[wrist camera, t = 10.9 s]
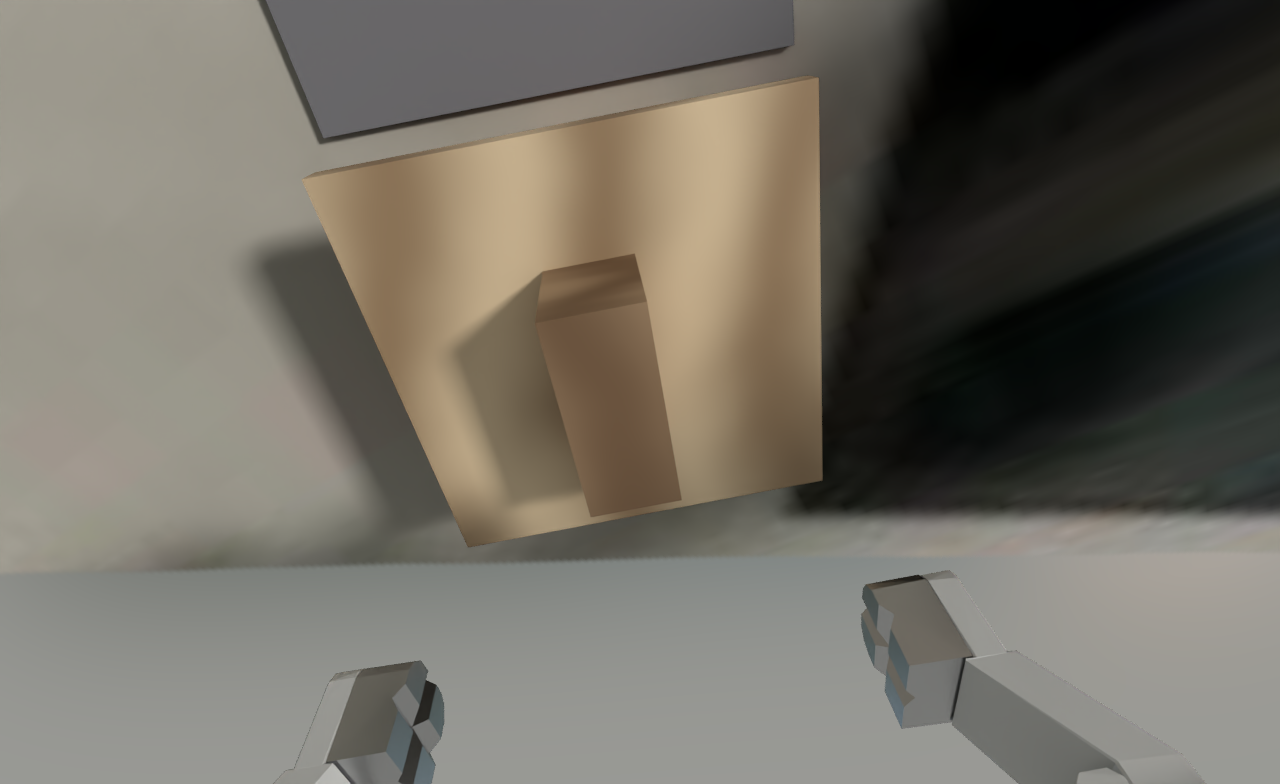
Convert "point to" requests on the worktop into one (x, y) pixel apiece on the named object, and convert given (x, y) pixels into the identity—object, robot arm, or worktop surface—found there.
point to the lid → (599, 306)
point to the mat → (500, 49)
